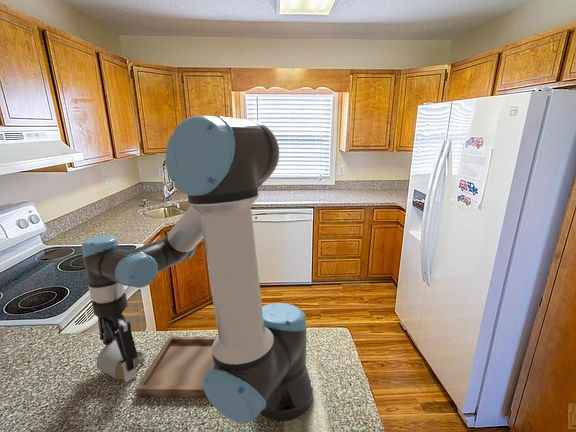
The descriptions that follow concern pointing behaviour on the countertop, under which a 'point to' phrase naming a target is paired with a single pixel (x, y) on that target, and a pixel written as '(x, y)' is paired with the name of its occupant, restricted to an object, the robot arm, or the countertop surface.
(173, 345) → the walnut tray
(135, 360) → the ceramic mug
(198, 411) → the countertop surface
